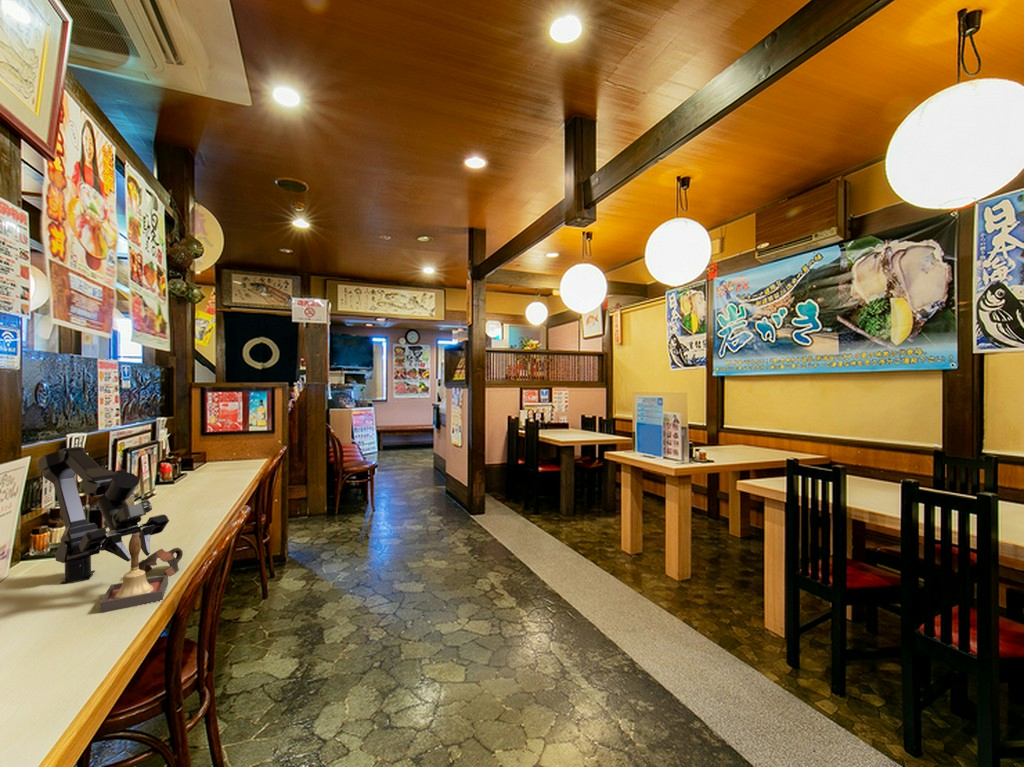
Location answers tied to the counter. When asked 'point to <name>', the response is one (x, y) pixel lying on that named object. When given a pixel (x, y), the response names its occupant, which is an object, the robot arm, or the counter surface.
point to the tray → (114, 604)
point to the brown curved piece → (165, 557)
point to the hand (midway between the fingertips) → (138, 557)
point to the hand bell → (134, 573)
